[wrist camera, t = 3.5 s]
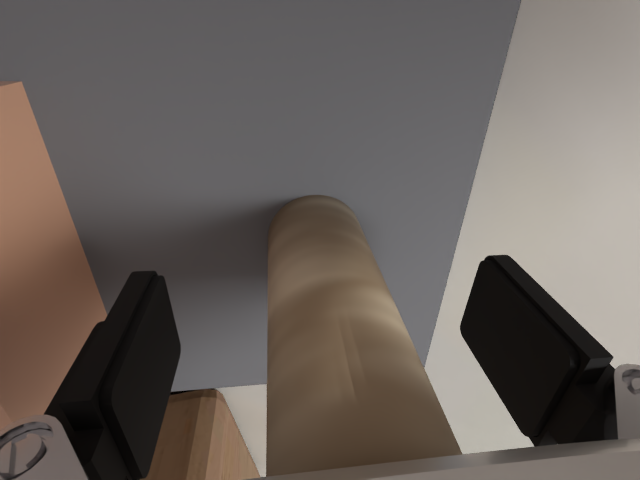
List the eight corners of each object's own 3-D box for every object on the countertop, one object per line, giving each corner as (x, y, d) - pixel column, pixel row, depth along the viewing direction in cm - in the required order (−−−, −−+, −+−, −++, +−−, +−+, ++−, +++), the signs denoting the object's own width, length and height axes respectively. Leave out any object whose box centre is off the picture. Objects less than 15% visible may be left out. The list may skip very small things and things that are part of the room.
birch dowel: (363, 193, 13) (530, 493, 5) (355, 272, 15) (466, 590, 7) (265, 196, 13) (257, 529, 4) (270, 276, 15) (270, 621, 6)
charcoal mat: (508, -21, 11) (527, -24, 10) (416, 356, 20) (423, 370, 19) (-554, -75, 8) (-651, -87, 7) (-114, 397, 17) (-134, 416, 16)
